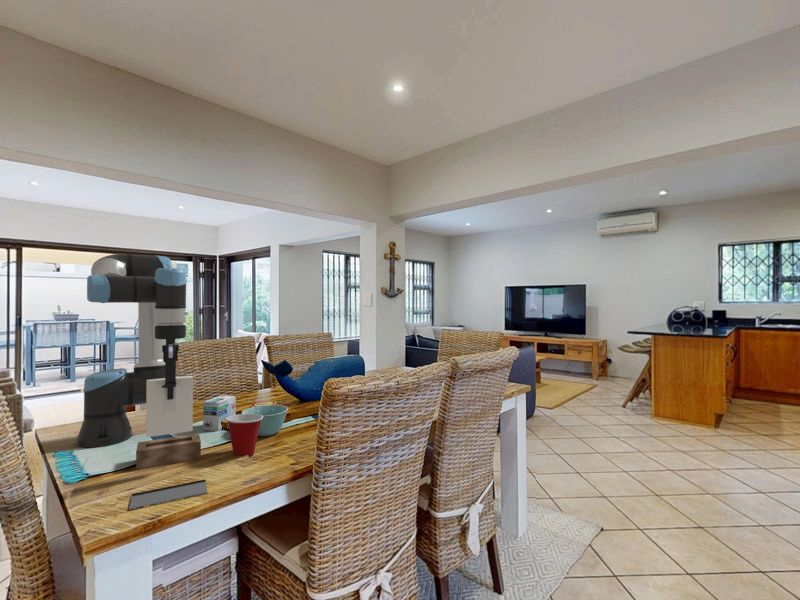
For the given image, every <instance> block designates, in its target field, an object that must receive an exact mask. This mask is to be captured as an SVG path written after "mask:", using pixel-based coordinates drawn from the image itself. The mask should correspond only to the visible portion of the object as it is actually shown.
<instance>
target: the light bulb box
mask: <svg viewBox="0 0 800 600" xmlns="http://www.w3.org/2000/svg"><path fill="white" fill-rule="evenodd" d="M236 400H237V398H236V396H235V395H225V394H224V395H223V394H220V395H218V396H216V397H213V398H210V399H207V400H204V401H202V402H203V407H202V408H203V409H202V411H203V412H202V418H203V421H202V424H203V425H202V430H203V431H204V430H210V431H209V432H221V431H222V430H221V429H222V425H221V421H222V420H223V419H226V418H227V417H228V416H232V415H236V406H237V405H236V403H237V402H236ZM220 430H221V431H220Z"/></svg>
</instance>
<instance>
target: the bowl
mask: <svg viewBox="0 0 800 600" xmlns="http://www.w3.org/2000/svg"><path fill="white" fill-rule="evenodd" d="M288 411H289V408H288V407H287V406H285V405H280V404H264V405H263V404H262V405H256V406H253V407H248V408H245V409H244V410H242V412H241V414H258V415H262V416H263V419H262V420H261V423H260V426H259V431H258V437H269V436H273V435H275V434H278V432H280V431H281V430H282V428H283V425H284V422H285V419H286V415H287V413H288Z"/></svg>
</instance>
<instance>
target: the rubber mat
mask: <svg viewBox="0 0 800 600" xmlns="http://www.w3.org/2000/svg"><path fill="white" fill-rule="evenodd" d="M202 495H208V489H207V484H206V479H200V480H196V481H191V482H187V483H181V484H176V485H171V486H166V487H161V488H157V489H156V488H155V489H151V490H145V491H140V492H136V493H132V494H131V497H130V504H129V510H130V511H132V510H131V509H134V508H139V507H144V506H147V505H153V504H157V505H159V504H158V503H162V502H167V501H171V502H173V501H172V500H176V499H180V498H185V499H187V498H186V497H189V498H193V496H194V497H198V496H202ZM180 500H181V499H180ZM176 501H177V500H176ZM167 503H168V502H167ZM162 504H163V503H162ZM153 506H154V505H153ZM144 508H145V507H144ZM139 509H140V508H139ZM134 510H135V509H134Z"/></svg>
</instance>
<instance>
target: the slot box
mask: <svg viewBox="0 0 800 600" xmlns="http://www.w3.org/2000/svg"><path fill="white" fill-rule="evenodd" d="M201 448H202V441H201V437H200V433H198V432H197V433H193V434H185V435H179V436H173V437H172V436H171V437H165V438H160V439H159V438H158V439H152V440H145V441H138V442H137V445H136V449H135V450H136V451H135V470H136V471H137V470H141V469H147V468H152V467H158V466H159V467H160V466H164V465H171V464H176V463H182V462H186V461H187V462H188V461H194V460H199V459H202V456H201V455H202V454H201V453H202V451H201Z"/></svg>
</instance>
